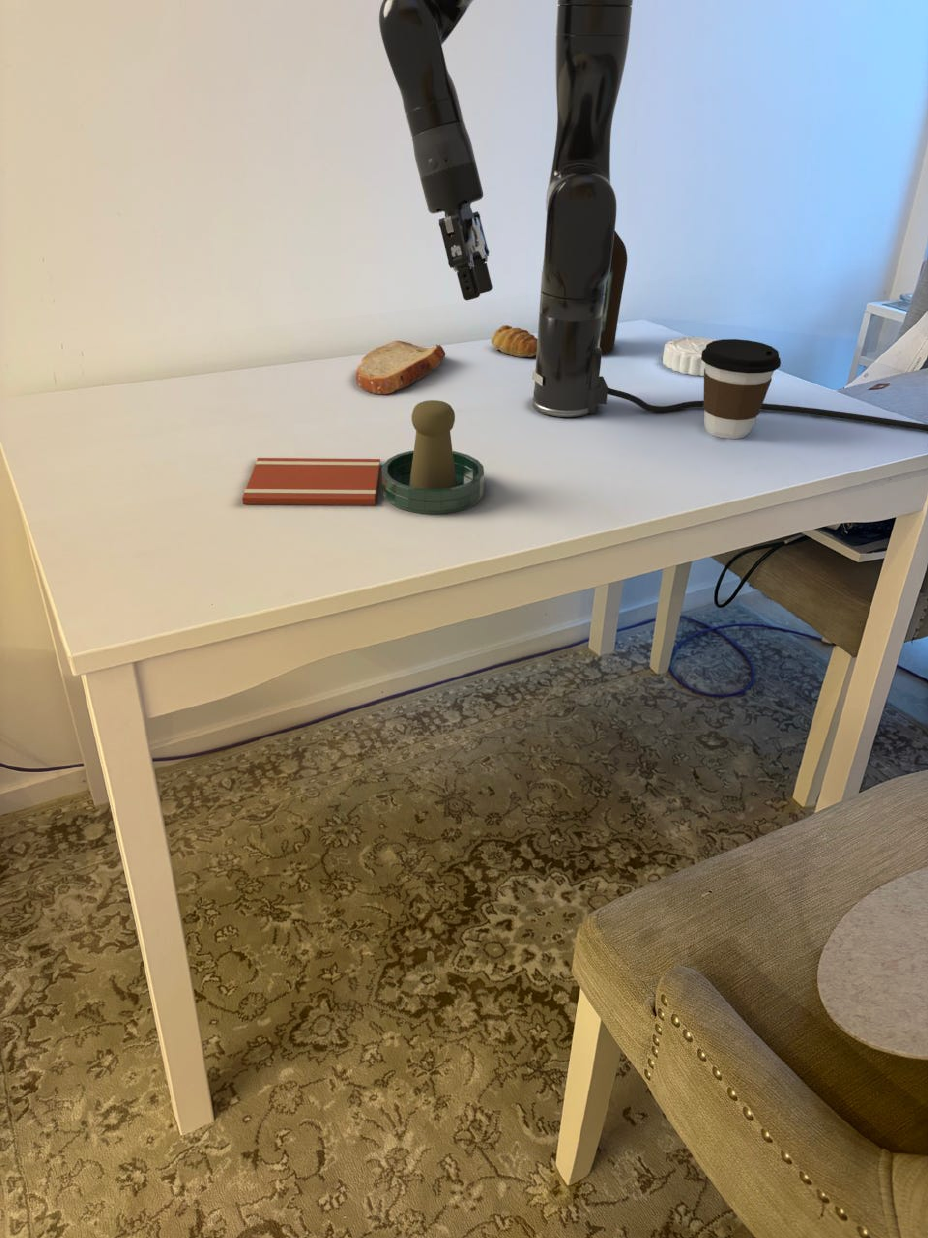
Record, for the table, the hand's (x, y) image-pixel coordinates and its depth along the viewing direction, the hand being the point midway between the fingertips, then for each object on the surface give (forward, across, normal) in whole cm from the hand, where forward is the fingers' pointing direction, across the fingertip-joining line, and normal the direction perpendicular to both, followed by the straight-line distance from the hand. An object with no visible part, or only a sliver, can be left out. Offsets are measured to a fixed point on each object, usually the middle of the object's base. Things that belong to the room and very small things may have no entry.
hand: (479, 295), depth 124 cm
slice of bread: (+10, +20, +20) cm, 30 cm away
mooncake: (+23, +39, -26) cm, 52 cm away
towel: (+15, -24, +21) cm, 35 cm away
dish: (+20, -22, +7) cm, 30 cm away
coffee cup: (+28, +9, -29) cm, 41 cm away
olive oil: (+16, +43, -7) cm, 46 cm away
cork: (+20, -22, +7) cm, 30 cm away
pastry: (+13, +38, +5) cm, 40 cm away
